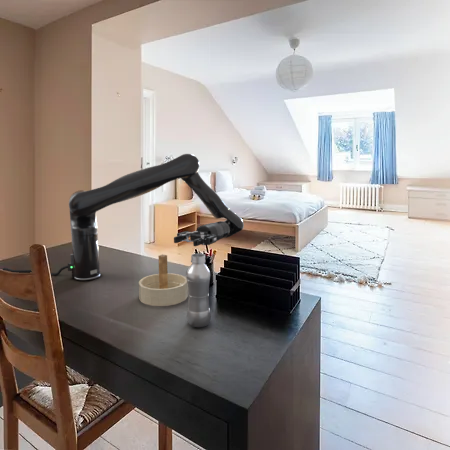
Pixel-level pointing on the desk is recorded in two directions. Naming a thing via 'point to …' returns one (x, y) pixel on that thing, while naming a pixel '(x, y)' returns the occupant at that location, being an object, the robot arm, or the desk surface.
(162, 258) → the wooden t-shaped block
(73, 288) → the desk surface
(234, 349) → the desk surface
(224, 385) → the desk surface
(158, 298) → the bowl
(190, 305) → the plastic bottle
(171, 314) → the desk surface
